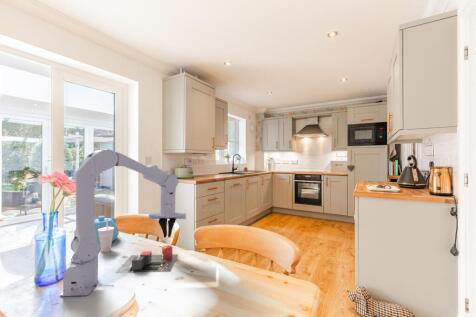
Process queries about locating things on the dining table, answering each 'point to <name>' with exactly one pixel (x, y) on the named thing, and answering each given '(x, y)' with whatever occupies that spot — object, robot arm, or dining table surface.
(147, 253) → the breaker tagged
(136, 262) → the breaker plain
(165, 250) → the lockout cap
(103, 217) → the teapot
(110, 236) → the smoothie
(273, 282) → the dining table surface
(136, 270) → the breaker panel
